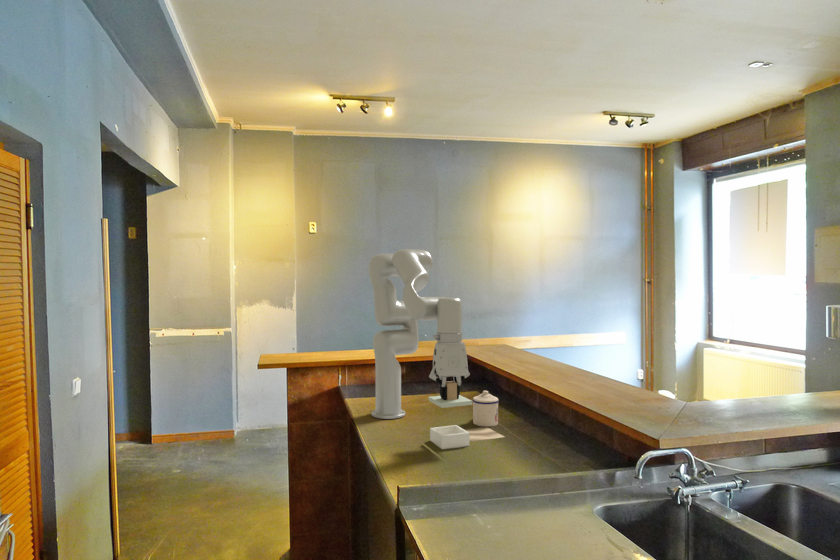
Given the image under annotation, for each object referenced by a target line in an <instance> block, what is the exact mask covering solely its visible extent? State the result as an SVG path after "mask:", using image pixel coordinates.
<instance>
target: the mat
mask: <svg viewBox="0 0 840 560" xmlns="http://www.w3.org/2000/svg"><path fill="white" fill-rule="evenodd" d="M464 430H466V431H467V432H469V442H479V441H487V440H494V439H500V438H505V436H504V435H503V434H500V433H499V432H497V431H495V430H493V429H491V428H489V426H481V427H475V428H467V429H464Z"/></svg>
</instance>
